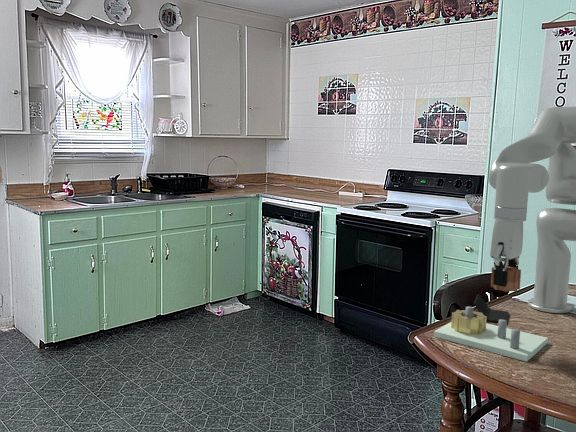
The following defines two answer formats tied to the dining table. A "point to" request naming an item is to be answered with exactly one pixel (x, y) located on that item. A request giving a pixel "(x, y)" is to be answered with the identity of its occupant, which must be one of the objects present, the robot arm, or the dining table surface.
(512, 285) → the rust gear
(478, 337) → the gear board
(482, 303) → the dark grey angled bracket
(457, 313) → the brass gear
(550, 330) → the dining table surface
